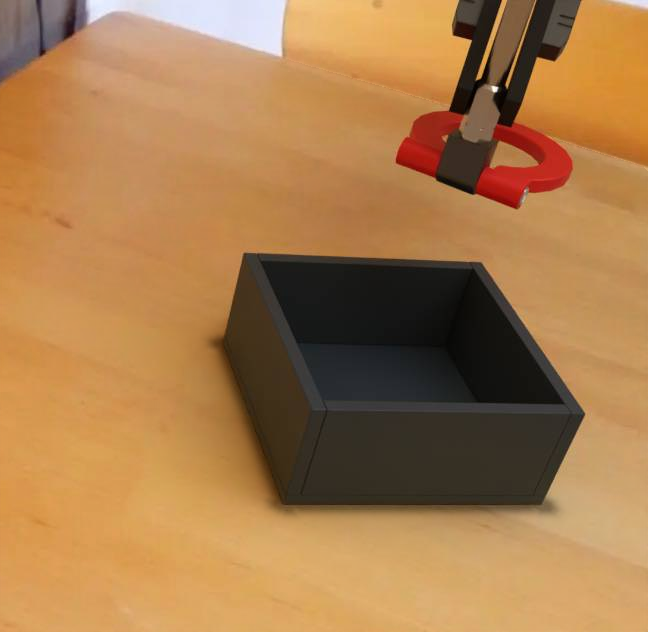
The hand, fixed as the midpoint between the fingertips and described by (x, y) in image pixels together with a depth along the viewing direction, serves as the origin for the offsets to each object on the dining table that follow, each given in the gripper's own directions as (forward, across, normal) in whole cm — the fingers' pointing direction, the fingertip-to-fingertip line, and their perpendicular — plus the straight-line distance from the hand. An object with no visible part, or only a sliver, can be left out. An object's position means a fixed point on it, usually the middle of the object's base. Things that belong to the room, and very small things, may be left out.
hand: (484, 106), depth 60 cm
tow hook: (0, -1, -6) cm, 6 cm away
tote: (+13, 0, -12) cm, 18 cm away
